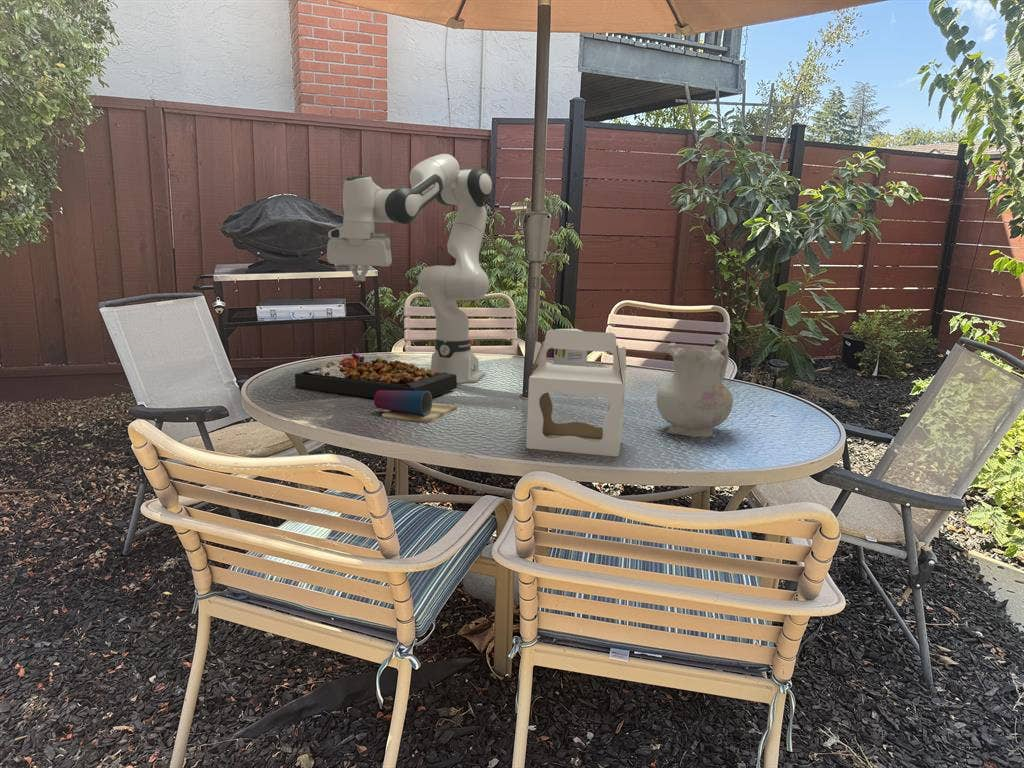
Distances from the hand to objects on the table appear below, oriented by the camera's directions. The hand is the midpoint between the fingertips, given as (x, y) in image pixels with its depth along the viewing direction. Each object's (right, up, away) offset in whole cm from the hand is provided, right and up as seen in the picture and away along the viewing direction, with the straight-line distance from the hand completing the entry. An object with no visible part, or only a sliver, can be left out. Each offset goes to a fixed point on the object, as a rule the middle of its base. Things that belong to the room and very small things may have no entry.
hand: (359, 280), depth 204 cm
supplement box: (+66, -27, +52) cm, 89 cm away
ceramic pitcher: (+93, -43, -19) cm, 105 cm away
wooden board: (+19, -38, -9) cm, 44 cm away
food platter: (+1, -32, +19) cm, 37 cm away
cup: (+8, -35, -10) cm, 37 cm away
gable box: (+60, -45, -35) cm, 83 cm away
